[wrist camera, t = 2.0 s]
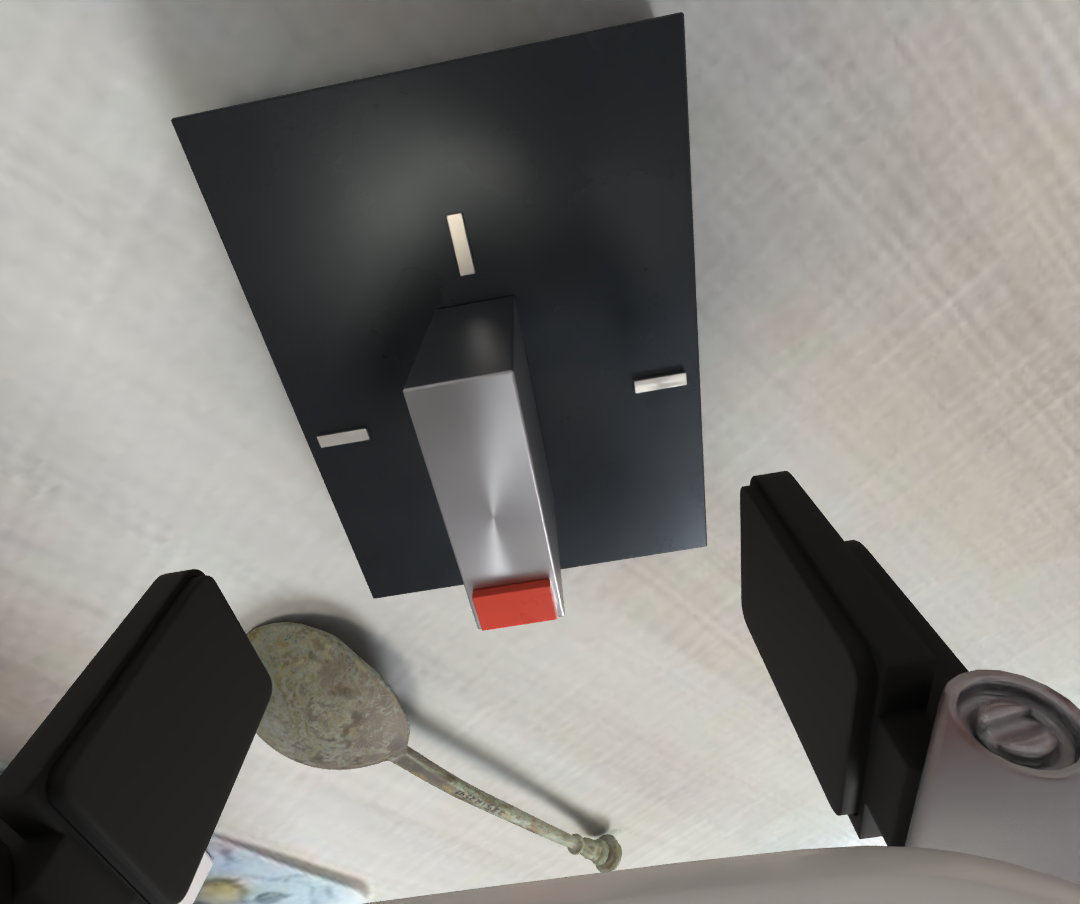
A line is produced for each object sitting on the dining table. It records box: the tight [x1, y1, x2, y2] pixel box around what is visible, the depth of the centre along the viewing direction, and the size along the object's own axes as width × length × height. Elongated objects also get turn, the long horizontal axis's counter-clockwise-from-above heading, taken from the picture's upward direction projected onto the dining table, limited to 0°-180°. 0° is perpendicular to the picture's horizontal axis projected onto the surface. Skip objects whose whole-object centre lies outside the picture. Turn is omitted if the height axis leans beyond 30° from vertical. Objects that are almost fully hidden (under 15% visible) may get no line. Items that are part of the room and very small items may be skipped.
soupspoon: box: [247, 622, 622, 873], centre depth 26 cm, size 22×3×7 cm
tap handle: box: [403, 296, 565, 630], centre depth 14 cm, size 6×2×5 cm, turn 10°
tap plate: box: [171, 12, 707, 598], centre depth 17 cm, size 14×11×3 cm
